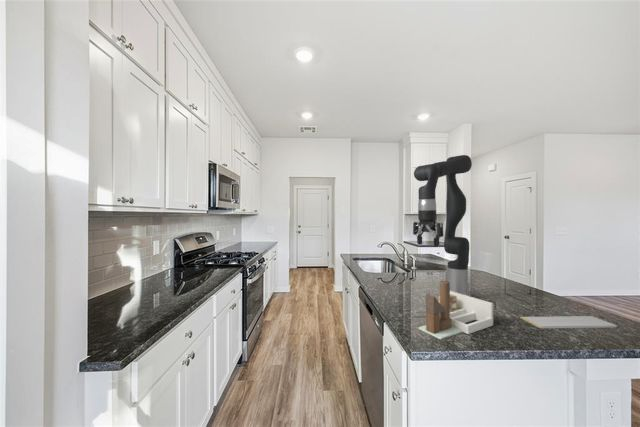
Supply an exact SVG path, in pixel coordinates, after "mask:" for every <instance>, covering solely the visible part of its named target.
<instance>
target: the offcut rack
mask: <svg viewBox="0 0 640 427" xmlns="http://www.w3.org/2000/svg"><path fill="white" fill-rule="evenodd" d="M450 294H451V295H455V296H457V303H456V309H458V310H456V311H452V312H450V318H451V327H454V328H456V329H458V330H461V331H462V333H465V334H467V335H469V334H473V333H476V332H478V331H481V330H484V329H487V328H489V327H492V326H494V302H489V301H486V300H483V299H481V298H478V297H477V298H476V297H475V296H474V297H473V296H470V295H469V296H467V295H463V294H460V293H457V292H453V291H450ZM439 314H440V313H439ZM472 321H474V322H472ZM470 322H471V323H470ZM467 323H468V324H467Z"/></svg>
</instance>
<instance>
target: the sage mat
mask: <svg viewBox="0 0 640 427" xmlns="http://www.w3.org/2000/svg"><path fill="white" fill-rule="evenodd" d="M418 329H419V330H420V331H423V332H424V333H426V334H429V335H431V336H433V337H435V338H436V339H439V340H444V339H446V338H450V337H453V336H455V335H459V334H463V332H462V331H461V330H458V329H456V328H454V327H451V328H448V329H445V330H440V331H439V332H437V333H431V332H429V331H427V330H426V324H425V325H422V326H418Z"/></svg>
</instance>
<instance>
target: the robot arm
mask: <svg viewBox="0 0 640 427" xmlns="http://www.w3.org/2000/svg"><path fill="white" fill-rule="evenodd" d="M472 164H473V163H472V159H471V157H470V156H469V155H467V154H461V155H456V156H455V155H454V156H449V157H447V159H446V160H444V161H436V162H434V163H431V164H430V163H428V164H425V165H419V166H417V167H415V169H414V171H413V177H414V178H415V180H416V181H419V182H426V184H425V185H423V186H420V187H419V188H418V203H417V206H418V207H417V210H418V211H417V213H418V216H417V217H418V218H417V219H418V221H413V223H412V224H413V225H412V234H413V235H415V236H416V243H417V245H423V236H422V235H423V234H424V233H430V234H431V236H432V237H433V247H439V245H440V238H442V237H444V239H443V240H444V241H443V248H444V252H445V253H446V254H450V255H455V256H456V255H457V258H456V259H454V260H450V261H447V281H448V282H450V291H453V292H457V293H460V294H463V295H467V296H470V295H469V293H470V292H469V288H470V286H469V282H468V281H469V279H468V278H469V273H468V272H469V270H468V269H469V263H470V261H469V260H470V241H469V239H468V238H467V237H462V236H456V230H457V227H458V225H459V223H460V222H461V221H462V219H463V218H464V216H465V215H466V212H467V198H466V195H465V193H464V192H463V190H462V189H461V188H460V187H459V184H458V182H457V177H456V175H460V174H466V173H469V171H471V170H472V166H473V165H472ZM442 177H446V178H445V179H446V201H445V202H446V203H445V204H446V205H445V212H446V214H445V215H446V216H445V231H444V224H443V222H437V221H436V220H437V202H436V201H437V200H436V189H437V184H438V182H439V179H440V178H442Z"/></svg>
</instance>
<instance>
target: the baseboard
mask: <svg viewBox="0 0 640 427" xmlns="http://www.w3.org/2000/svg"><path fill="white" fill-rule="evenodd" d="M590 314H591V313H590V312H588V313H586V315H581V316H578V315H575V316H574V315H573V316H565V315H564V316H563V315H562V316H561V315H560V316H558V315H557V316H555V315H554V316H520V317H519V319H522V320H524V321H525V322H527V323H529V324H531V325H533V326H535V327H537V328H539V329H599V328H601V329H602V328H603V329H609V328H610V329H611V328H618V325H617V322H615V324H614V323H613V321H612V320H611V321H610V322H608V321H606V320H605V317H603V316H602V315H598V317H599V318H598V317H596V316H597V315H596V314H593V313H592V314H591V315H590ZM603 319H604V320H603Z"/></svg>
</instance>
